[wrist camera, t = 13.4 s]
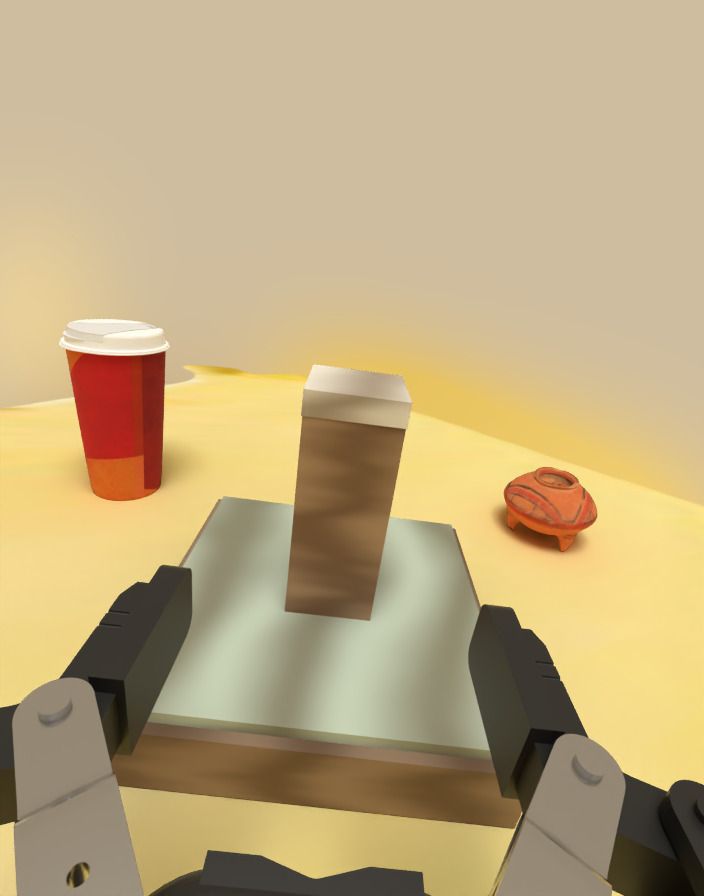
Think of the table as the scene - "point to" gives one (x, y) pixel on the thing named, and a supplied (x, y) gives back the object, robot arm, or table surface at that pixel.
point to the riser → (324, 682)
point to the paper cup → (119, 403)
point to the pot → (550, 504)
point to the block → (344, 489)
